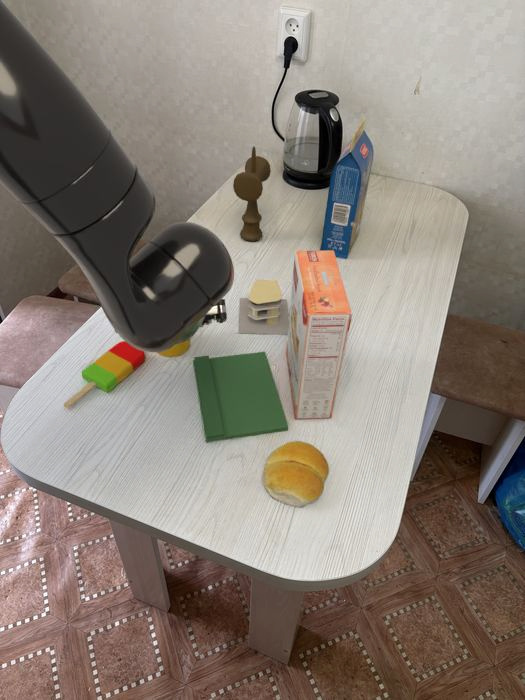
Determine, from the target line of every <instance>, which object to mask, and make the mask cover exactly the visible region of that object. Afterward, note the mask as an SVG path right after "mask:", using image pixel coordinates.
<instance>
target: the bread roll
mask: <svg viewBox="0 0 525 700" xmlns="http://www.w3.org/2000/svg"><path fill="white" fill-rule="evenodd" d="M329 471H330V467H329V463H328V461H327V459H326V457H325V456H324V453H322V452H321V451H320V450H319V449H318V448H317V447H315V446H314V445H312V444H310V443H308V442H304V441H299V440H295V441H294V440H293V441H289V442H286V443H284V444H282V445H280V446H279V447H277V448H275V450H273V451H272V452H271V453H270V454H269V456H268V457H267V459H266V462H265V466H264V469H263V473H262V482H263V486H264V488H265V490H266V491H267V493H268V494H269V495H270V497H272V498H273V499H274V500H277V501H279V502H281V503H283V504H285V505H289V506H293V507H297V508H298V507H299V508H302V507H305V506H307V505H308V504H311V503H313V502H316V500H318V499H319V497H320V496H321V495H322V494H323V492H324V487H325V486H324V482H325V481H326V479H327V477H328V475H329Z"/></svg>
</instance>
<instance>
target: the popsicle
mask: <svg viewBox="0 0 525 700" xmlns="http://www.w3.org/2000/svg"><path fill="white" fill-rule="evenodd" d="M145 361H146V352H145V351H141V350H138V349H136V348H134V347H132V346H131V345H129V344H128V343H127V342H125V341H124V340H122V341H119V342H118V343H116V344H115V345H113V346H112V347H111V348H110V349H109V350H107V351H105V352H104V353H103V354H102V355H101V356H99V357H98V358H97V359H95V361H93V362H91V364H89V365H88V366H87V367H86V368H83V370H82V371H81V375H82V378H83V379H84V380H85V381H86V382H88V383H87V384H86V385H84V386H83V387H82V388H81V389H80V390H79V391H77V392H76V393H75V394H74V395H72V396H71V397H70V398H68V400H66V401H65V402H64V403H63V407H64V408H66V409H69V408H70V407H72V406H73V405H74V404H75V403H77V401H79V400H80V399H82V398H83V397H84V396H85V395H86V394H88V393H89V392H90V391H91V390H92V389H94V388H95V387H97V388H99V389H101V390H102V391H104V392H105V393H107V394H109V393H110V392H111V391H112V390H113V389H115V387H117V386H118V385H119V384H120V383H121V382H123V381H124V380H125V379H126V378H128V376H129V375H131V374H132V373H133V372H134V371H135V370H136V369H137V368H139V367H140V366H141V365H143V364H144V363H145Z"/></svg>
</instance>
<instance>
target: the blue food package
mask: <svg viewBox="0 0 525 700" xmlns="http://www.w3.org/2000/svg"><path fill="white" fill-rule="evenodd" d="M366 119H367V116H364V118H363V120H362V121H361V122H360V125H359V126H358V127H357V129H356V131H355V133H354V134H353V136H352V139H351V140H350V141H349V142H348V144H347V146H346V147H345V148H344V150H342V152H341V154H340V155H339V158H338V160H337V162H336V163H335V165H334V167H333V169H332V171H331V174H330V180H329V184H328V185H329V186H328V193H327V200H326V208H325V213H324V214H325V215H324V222H323V229H322V234H321V235H322V237H321V242H320V250H319V251H325V250H333V251H334V253H335V257H336V258H341V259H342V258H343V259H348V257H349V255H350V254H351V252H352V250H353V247H354V245H355V242H356V240H357V238H358V235H359V232H360V229H361V223H362V219H363V213H364V208H365V203H366V198H367V192H368V187H369V182H370V177H371V174H372V173H371V172H372V166H373V163H374V152H375V151H374V146H373V143H372V140H371V139H370V137H369V136H368V133H367V132H366V130H365V125H366Z"/></svg>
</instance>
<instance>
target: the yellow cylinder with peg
mask: <svg viewBox="0 0 525 700" xmlns="http://www.w3.org/2000/svg"><path fill="white" fill-rule="evenodd" d="M190 340H191V338H190V339H188V340H186V341H185V342H182V343H179V344H175V345H174V346H172V347H171V348H170V349H168V350H166V351H162V352H156V354H158V355H160V356H163V357H166V358H175V357H179V356H182V355H184V354H185V353H187V352H188V350H189V348H190V346H191V341H190Z"/></svg>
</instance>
